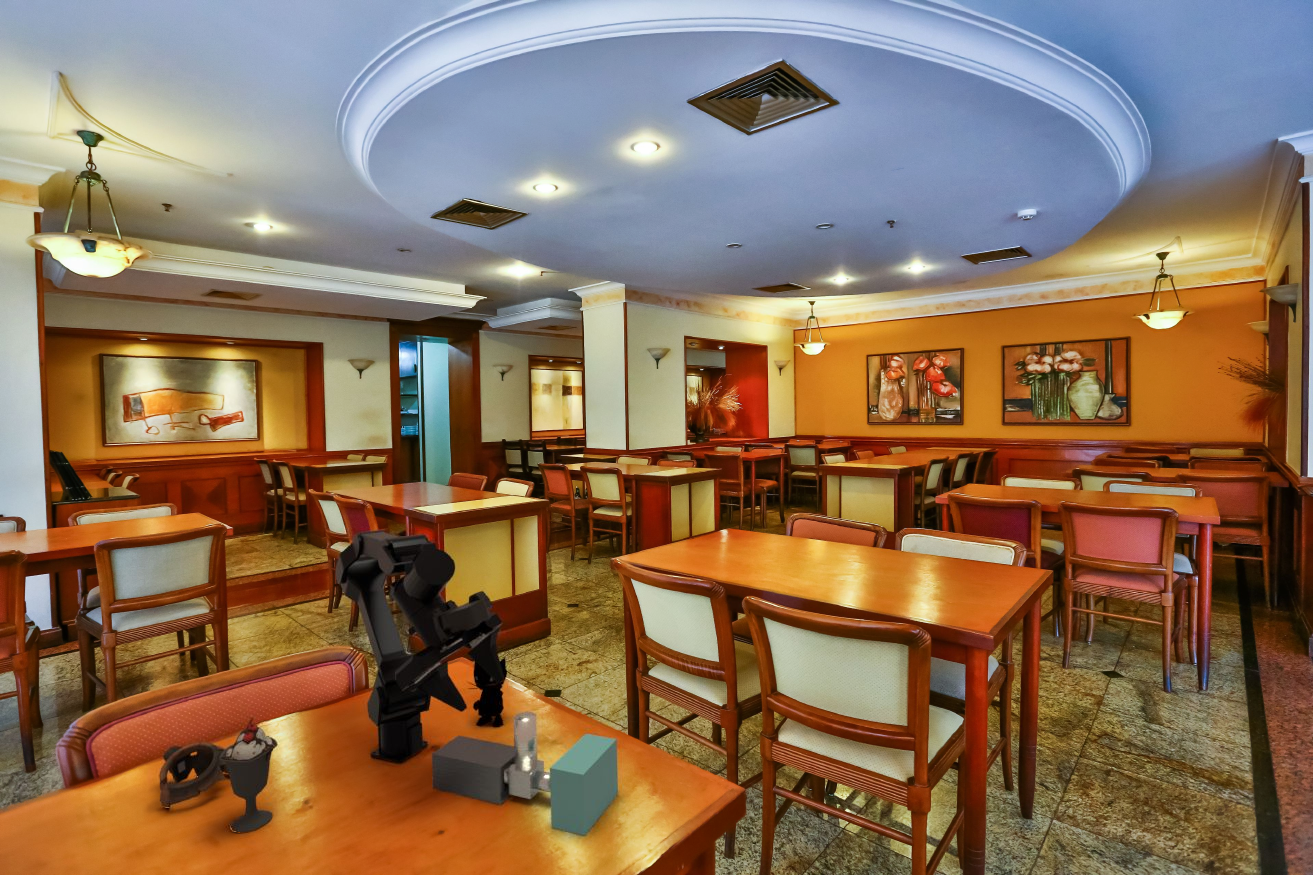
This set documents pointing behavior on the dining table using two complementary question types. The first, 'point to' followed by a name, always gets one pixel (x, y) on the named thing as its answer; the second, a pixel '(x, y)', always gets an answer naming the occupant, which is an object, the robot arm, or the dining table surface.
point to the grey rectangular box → (473, 769)
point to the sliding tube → (526, 760)
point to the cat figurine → (489, 696)
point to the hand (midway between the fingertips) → (484, 694)
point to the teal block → (583, 784)
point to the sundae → (249, 774)
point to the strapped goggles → (182, 765)
